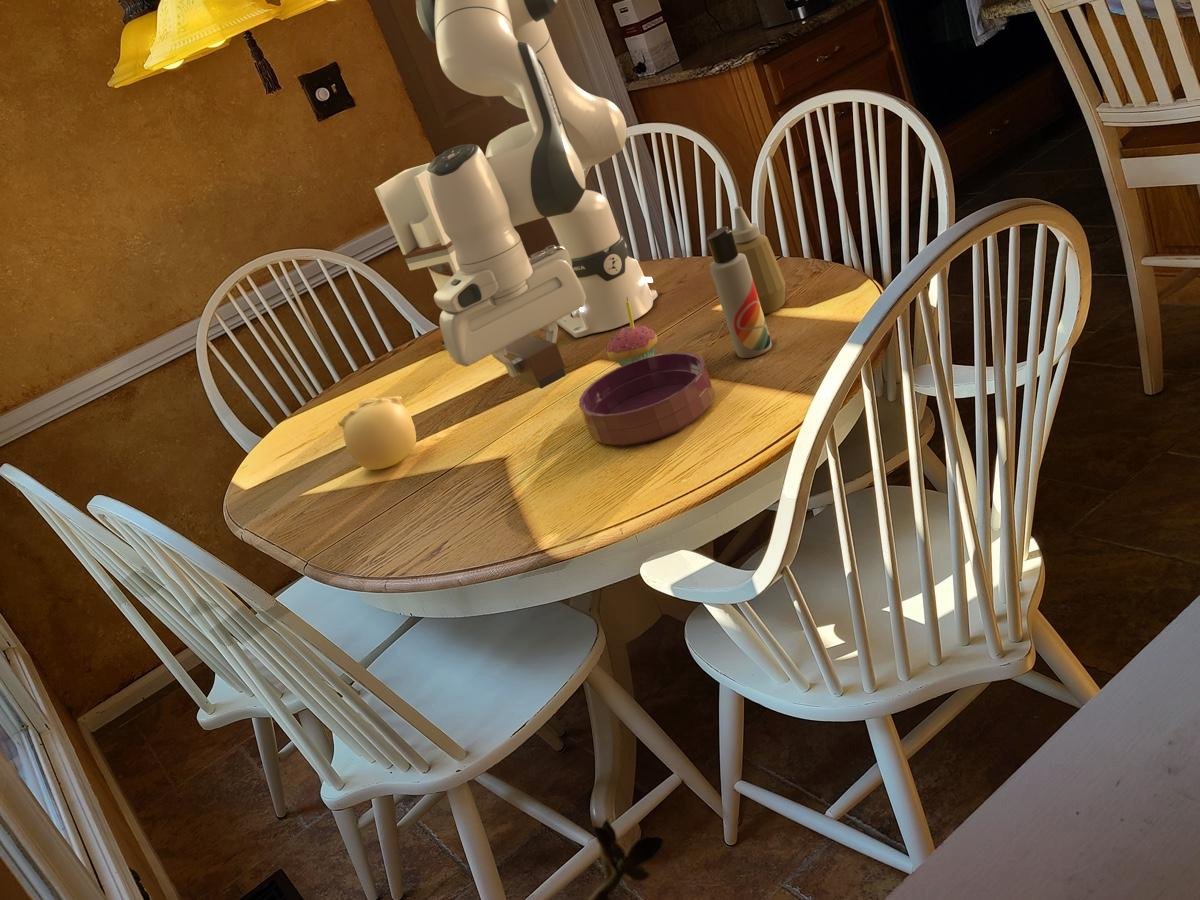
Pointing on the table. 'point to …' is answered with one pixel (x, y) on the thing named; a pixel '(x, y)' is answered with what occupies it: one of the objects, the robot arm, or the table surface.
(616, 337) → the cupcake
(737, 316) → the lotion bottle
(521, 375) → the dark chocolate square
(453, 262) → the cream shelf stand
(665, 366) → the bowl
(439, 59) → the robot arm
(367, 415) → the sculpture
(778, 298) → the squeeze bottle
